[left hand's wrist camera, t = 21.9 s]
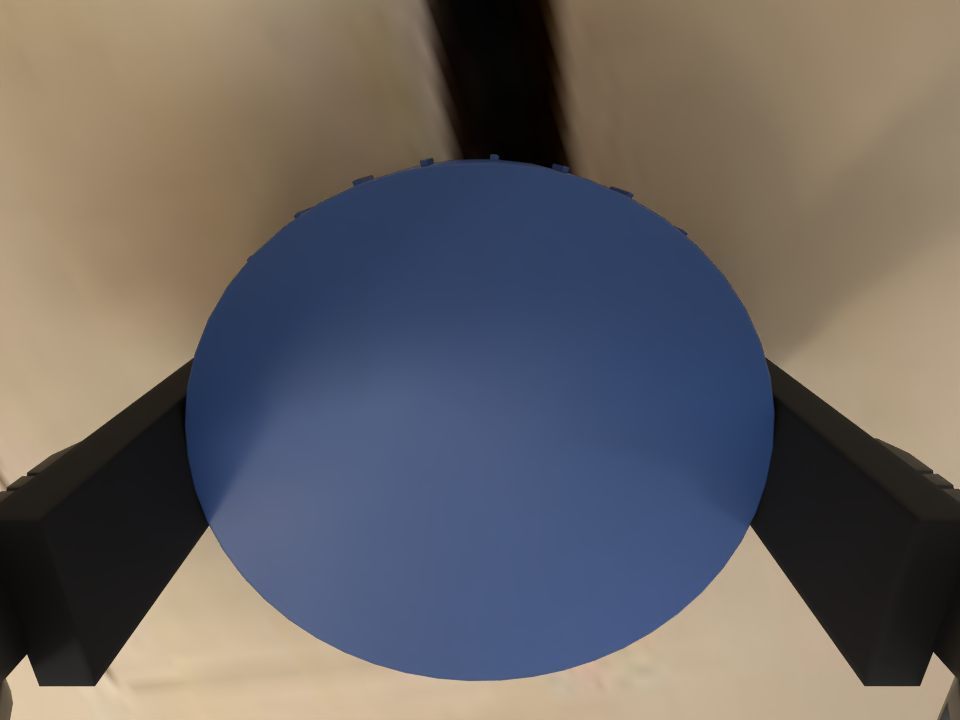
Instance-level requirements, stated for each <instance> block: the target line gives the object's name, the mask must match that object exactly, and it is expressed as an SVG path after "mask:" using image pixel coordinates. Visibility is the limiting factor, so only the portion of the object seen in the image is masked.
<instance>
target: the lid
mask: <svg viewBox="0 0 960 720" xmlns="http://www.w3.org/2000/svg"><path fill="white" fill-rule="evenodd" d="M420 163H421V165H420V166H415V167H412V168H408V169H405V170H402V171H399V172H395V173H392V174H389V175H386V176H383V177H379V178H376V179H374V177H373V175H371V176H367V177H364V178H360V179H357V180H355V181H353V184H354V187H352V188H350V189H348V190H346V191H344V192H342V193H340V194H338V195H335V196H333V197H331V198H329V199H327V200H325V201H323V202H321V203H319V204H318V205H316V206H314V207H311V208H309V209H306V210H303V211H301V212H298V213H297V214H295V215H294V217H295V218H296V219H295V220H294V221H292V222H291V223H289V224H288V225H286V226H285V227H283V228H282V229H281V230H280V231H279V232H278V233H277V234H276V235H275V236H273V237H272V238H271V239H270V240H269V241H268V242H267V243H266V244H265V245H263V246H262V247H261V248H260V249H259V250H258V251H257V252H256V253H255V254H254V255H252V256H250V257H249V258H248V260H247V261H248V262H247V263H246V264H245V265H244V267H243V268H242V269H241V270H240V272H239V273H238V274H237V275H236V277H235V278H234V279H233V280H232V281H231V283H230V284H229V285H228V287H227V288H226V290H225V292H224V293H223V295H222V297H221V299H220V300H219V302H218V304H217V305H216V307H215V309H214V310H213V312H212V314H211V316H210V317H209V319H208V321H207V324H206V327H205V329H204V332H203V334H202V337H201V339H200V342H199V344H198V347H197V349H196V352H195V355H194V360H193V364H192V369H191V373H190V378H189V382H188V387H187V396H186V411H185V435H186V446H187V455H188V460H189V465H190V470H191V474H192V479H193V483H194V488H195V492H196V494H197V497H198V499H199V502H200V504H201V507H202V509H203V512H204V514H205V517H206V520H207V522H208V524H209V526H210V527H211V529H212V531H213V533H214V534H215V536H216V538H217V540H218V542H219V543H220V545H221V547H222V549H223V550H224V552H225V553H226V555H227V556H228V557H229V559H230V560H231V561H232V563H233V564H234V565H235V567H236V568H237V569H238V571H239V572H240V573H241V575H242V576H243V577H244V578H245V579H246V580H247V581H248V582H249V583H250V585H251V586H252V587H253V588H254V589H255V590H256V591H257V592H258V593H259V594H260V595H261V596H262V597H263V598H264V599H265V600H266V601H267V602H268V603H270V604H271V605H272V606H273V607H274V608H276V609H277V610H278V611H279V612H280V613H282V614H283V615H284V616H285V617H286V618H288V619H289V620H290V621H292V622H293V623H295V624H296V625H298V626H299V627H301V628H302V629H304V630H305V631H307V632H308V633H310V634H311V635H313V636H314V637H316V638H318V639H320V640H322V641H324V642H326V643H327V644H329V645H331V646H333V647H335V648H337V649H339V650H341V651H343V652H345V653H347V654H350V655H353V656H355V657H358V658H360V659H363V660H365V661H368V662H370V663H373V664H376V665H380V666H383V667H387V668H390V669H394V670H397V671H401V672H405V673H410V674H415V675H421V676H427V677H432V678H439V679H451V680H464V681H494V680H509V679H518V678H527V677H534V676H539V675H544V674H548V673H553V672H558V671H563V670H566V669H569V668H573V667H576V666H579V665H582V664H585V663H588V662H592V661H595V660H597V659H599V658H602V657H604V656H606V655H609V654H611V653H613V652H616V651H618V650H620V649H623V648H625V647H626V646H628V645H630V644H632V643H634V642H635V641H637V640H639V639H641V638H643V637H644V636H646V635H648V634H650V633H651V632H653V631H654V630H656V629H657V628H659V627H660V626H661V625H663V624H664V623H666V622H667V621H668V620H670V619H671V618H673V617H674V616H675V615H677V614H678V613H679V612H680V611H682V610H683V609H684V608H685V607H686V606H687V605H688V604H689V603H690V602H692V601H693V600H694V599H695V598H696V597H697V596H698V595H699V594H701V593H702V592H703V590H704V589H705V588H706V587H707V586H708V585H709V584H710V583H711V581H712V580H713V579H714V578H715V577H716V576H717V575H718V573H719V572H720V571H721V570H722V569H723V568H724V566H725V565H726V563H727V562H728V560H729V559H730V557H731V556H732V554H733V553H734V552H735V550H736V549H737V547H738V546H739V544H740V543H741V541H742V539H743V537H744V535H745V533H746V531H747V529H748V527H749V525H750V523H751V521H752V520H753V518H754V516H755V514H756V511H757V508H758V506H759V503H760V500H761V497H762V494H763V491H764V488H765V484H766V480H767V475H768V471H769V466H770V461H771V456H772V451H773V442H774V417H775V412H774V403H773V395H772V386H771V377H770V374H769V370H768V366H767V363H766V359H765V355H764V352H763V348H762V345H761V342H760V339H759V337H758V335H757V333H756V330H755V328H754V326H753V324H752V322H751V319H750V317H749V315H748V313H747V310H746V308H745V307H744V305H743V304H742V302H741V301H740V299H739V298H738V296H737V294H736V293H735V291H734V290H733V288H732V287H731V285H730V284H729V282H728V280H727V279H726V277H725V276H724V275H723V274H722V273H721V272H720V270H719V269H718V268H717V267H716V266H715V265H714V264H713V263H712V261H711V260H710V259H709V258H708V257H707V256H706V255H705V254H704V253H703V251H702V250H701V249H700V248H699V247H698V246H697V245H696V244H695V243H694V242H692V241H691V240H690V239H689V238H687V237H686V235H687V233H686V232H685V231H684V230H682V229H680V228H677V227H675V226H673V225H672V224H670V223H669V222H668V221H667V220H666V219H664V218H663V217H661V216H659V215H658V214H656V213H654V212H653V211H651V210H649V209H648V208H646V207H644V206H643V205H641V204H639V203H638V202H636V201H634V200H633V199H632V197H633V194H632V193H630V192H627V191H624V190H621V189H618V188H615V187H612V186H611V187H610V189H609V188H607V187H604V186H602V185H599V184H597V183H595V182H592V181H590V180H588V179H585V178H582V177H579V176H576V175H572V174H569V173H568V171H569V168H568V167H565V166H561V165H557V164H553V166H552V169H550V168H546V167H543V166H539V165H535V164H531V163H522V162H514V161H505V160H499V156H498V155H496V154H491V155H490V159H475V160H451V161H445V162H438V163H434V161H433V158H429V159H425V160H421V161H420Z"/></svg>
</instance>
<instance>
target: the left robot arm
mask: <svg viewBox="0 0 960 720" xmlns="http://www.w3.org/2000/svg"><path fill="white" fill-rule="evenodd" d="M765 359H766V363H767V366H768V370H769V374H770V377H771V386H772V395H773V403H774V412H775V417H774V442H773V451H772V456H771V461H770V466H769V471H768V475H767V480H766V484H765V488H764V491H763V494H762V497H761V500H760V503H759V506H758V508H757V511H756V514H755V516H754V518H753V520H752V521H751V523H750V525H751V527H752V528H753V530H754V531H755V532H756V534H757V535H758V537H759V538H760V539H761V541H762V542H763V544H764V545H765V547H766V548H767V549H768V551H769V552H770V554H771V555H772V556H773V558H774V559H775V561H776V562H777V563H778V565H779V566H780V568H781V569H782V570H783V572H784V573H785V575H786V576H787V578H788V579H789V580H790V582H791V583H792V585H793V586H794V587H795V589H796V590H797V592H798V593H799V594H800V596H801V597H802V599H803V600H804V601H805V603H806V604H807V606H808V607H809V608H810V610H811V611H812V613H813V614H814V616H815V617H816V618H817V620H818V621H819V623H820V624H821V625H822V627H823V628H824V630H825V631H826V632H827V634H828V635H829V637H830V638H831V639H832V641H833V642H834V644H835V645H836V647H837V648H838V649H839V651H840V652H841V654H842V655H843V656H844V658H845V659H846V661H847V662H848V663H849V665H850V666H851V668H852V669H853V670H854V672H855V673H856V675H857V676H858V677H859V679H860V680H861V682H862V683H863V685H864V686H920V685H921V682H922V680H923V677H924V674H925V672H926V669H927V667H928V664H929V661H930V659H931V656H932V654H933V652H934V653H935V654H936V655H937V656H938V657H939V659H940V660H941V661H942V662H943V663H944V664H945V665H946V666H947V668H948V669H949V670H950V671H951V672H952V673H953V674H954V675H955V678H954V680H953V683H952V685H951V688H950V690H949V693H948V695H947V697H946V700H945V702H944V705H943V707H942V709H941V712H940V714H939V717H938V719H937V720H960V490H959V489H954V487H953V485H952V484H951V483H950V482H948V481H947V480H946V479H944V478H943V477H941V476H940V475H939V474H933V470H932V469H930V468H929V467H927V466H926V465H925V464H923V463H922V462H920V461H919V460H918V459H916V458H915V457H914V456H912V455H911V454H909V453H907V452H905V451H903V450H901V449H899V448H897V447H894V446H892V445H890V444H888V443H886V442H884V441H881V440H879V439H877V438H873V437H871V436H870V435H869V434H867V433H866V432H865V431H863V430H862V429H861V428H859V427H858V426H857V425H855V424H854V423H853V422H851V421H850V420H849V419H847V418H846V417H845V416H843V415H842V414H841V413H839V412H838V411H837V410H835V409H834V408H832V407H831V406H830V405H828V404H827V403H826V402H824V401H823V400H822V399H820V398H819V397H818V396H816V395H815V394H814V393H812V392H811V391H810V390H808V389H807V388H806V387H804V386H803V385H802V384H800V383H799V382H798V381H796V380H795V379H794V378H792V377H791V376H790V375H788V374H787V373H786V372H784V371H783V370H782V369H780V368H779V367H778V366H776V365H775V364H773V363H772V362H771V361H769V360H768V359H767V358H765ZM193 360H194V358H193V359H191V360H190V361H189V362H187V363H186V364H185V365H183V366H182V367H181V368H179V369H178V370H177V371H175V372H174V373H173V374H171V375H170V376H169V377H167V378H166V379H165V380H163V381H162V382H161V383H159V384H158V385H157V386H155V387H154V388H153V389H151V390H150V391H149V392H147V393H146V394H145V395H143V396H142V397H140V398H139V399H138V400H136V401H135V402H134V403H132V404H131V405H130V406H128V407H127V408H126V409H124V410H123V411H122V412H120V413H119V414H118V415H116V416H115V417H114V418H112V419H111V420H110V421H108V422H107V423H106V424H104V425H103V426H102V427H100V428H99V429H98V430H96V431H95V432H94V433H92V434H91V435H90V436H88V437H87V438H85V439H84V440H83V441H81V442H79V443H77V444H75V445H72V446H70V447H68V448H66V449H64V450H62V451H59V452H57V453H55V454H53V455H51V456H50V457H48V458H47V459H45V460H44V461H43V462H41V463H40V464H39V465H37V466H36V467H34V468H33V469H32V470H30V471H29V472H28V473H27V476H22V477H21V478H19V479H18V480H17V481H15V482H14V483H12V484H11V485H10V486H8V487H7V491H1V492H0V720H10V717H11V711H12V705H13V701H12V695H11V690H10V688H9V685H8V683H7V680H6V677H7V676H8V675H9V674H10V673H11V672H12V670H13V669H14V668H15V667H16V666H17V665H18V664H19V663H20V661H21V660H22V659H23V658H24V657H25V656H26V655H28V658H29V660H30V663H31V665H32V668H33V671H34V673H35V676H36V678H37V681H38V683H39V686H95V685H96V684H97V683H98V681H99V680H100V678H101V677H102V676H103V674H104V673H105V671H106V670H107V668H108V667H109V666H110V664H111V663H112V661H113V660H114V659H115V657H116V656H117V654H118V653H119V652H120V650H121V649H122V647H123V646H124V645H125V643H126V642H127V640H128V639H129V637H130V636H131V635H132V633H133V632H134V630H135V629H136V628H137V626H138V625H139V623H140V622H141V621H142V619H143V618H144V616H145V615H146V614H147V612H148V611H149V609H150V608H151V607H152V605H153V604H154V602H155V601H156V599H157V598H158V597H159V595H160V594H161V592H162V591H163V590H164V588H165V587H166V585H167V584H168V583H169V581H170V580H171V578H172V577H173V576H174V574H175V573H176V571H177V570H178V569H179V567H180V566H181V564H182V563H183V561H184V560H185V559H186V557H187V556H188V554H189V553H190V552H191V550H192V549H193V547H194V546H195V545H196V543H197V542H198V540H199V539H200V538H201V536H202V535H203V533H204V532H205V531H206V529H207V528H208V526H209V524H208V522H207V520H206V517H205V514H204V512H203V509H202V507H201V504H200V502H199V499H198V497H197V494H196V492H195V488H194V483H193V479H192V474H191V470H190V465H189V460H188V455H187V446H186V435H185V411H186V396H187V387H188V382H189V378H190V373H191V369H192V364H193Z"/></svg>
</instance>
